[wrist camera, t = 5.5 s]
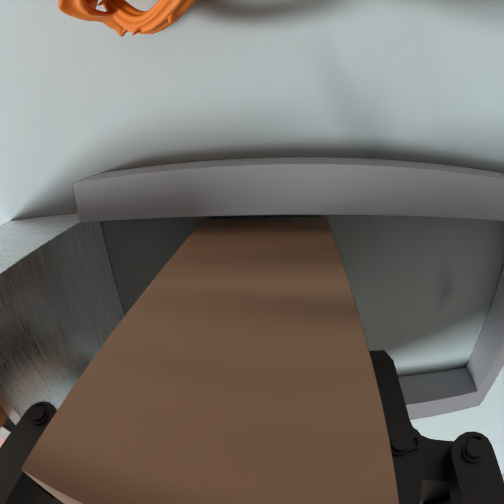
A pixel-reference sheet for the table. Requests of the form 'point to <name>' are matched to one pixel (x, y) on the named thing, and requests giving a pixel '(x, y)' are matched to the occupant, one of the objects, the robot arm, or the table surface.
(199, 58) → the table surface
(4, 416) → the orange rounded peg
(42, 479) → the carriage
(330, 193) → the guide channel
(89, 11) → the orange figurine
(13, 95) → the table surface
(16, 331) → the grey block with hole
